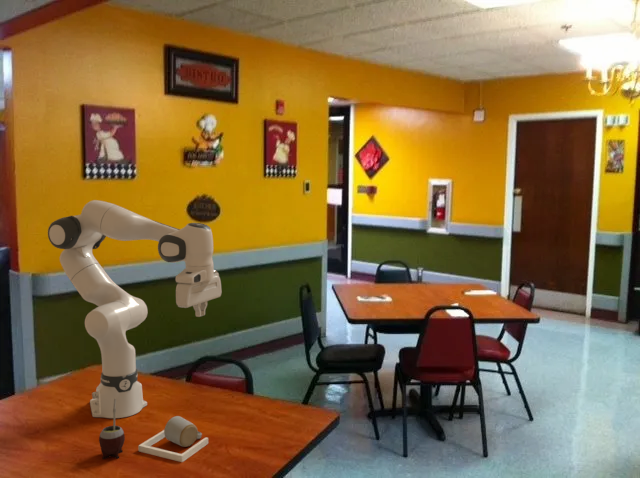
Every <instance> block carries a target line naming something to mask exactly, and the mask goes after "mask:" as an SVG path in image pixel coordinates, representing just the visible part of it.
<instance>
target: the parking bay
mask: <svg viewBox="0 0 640 478" xmlns="http://www.w3.org/2000/svg"><path fill="white" fill-rule="evenodd" d="M164 430H165V429H163V430H162V431H160V432H158V433H157V434H155V435H153V436H152V437H150V438H148V439H147V440H145V441H144V442H142V443H140V444H139V445H138V448H137V449H138V452H141V453H144V454H148V455H152V456H157V457H160V458H163V459H168V460H172V461H176V462H179V463H180V462H181V463H184V462H185V461H186V460H187V459H189V458H190V457H192V456H193V455H194V454H196V453H197V452H199V451H200V450H201V449H203V448H205V446H207V445H208V444H209V437H204V438H203V439H200V440H199V441H198V442H196V443H195V444H194V445H191V447H190V448H188V449H186V450H185V451H183V452H182V453H178V452H174V451H172V450H171V451H170V450H167V449H163V448H159V447H154V446H153V445H155V444H156V443H158V442H159V441H161V440H163V439H164V438H166V437H165V434H164Z"/></svg>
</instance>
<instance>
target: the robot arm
mask: <svg viewBox="0 0 640 478" xmlns="http://www.w3.org/2000/svg"><path fill="white" fill-rule="evenodd" d="M47 237H48V240H49V242H50V244H51V245H52V246H53V247H54V248H57V249H60V250H62V251H61V253H60V256H59V263H60V264H61V268H62V269H63V271H64V273H65V274H66V276H67V278H68V280H70V282H71V283H72V285H73V287H74V288H75V289H76V291H77V292H78V293H79V295H80V296H81V298H82V299H83V300H84V301H86V302H88V303H91V304H93V305H96V306H97V307H95V308H94V309H92V310H91V311H89V312H88V313H87V315H86V316H85V319H84V327H85V330H86V333H88V335H89V336H90V337H92V338H94V340H95V341H96V342H97V344H98V347H99V349H100V354H101V355H100V356H101V366H102V367H101V368H102V371H101V374H100V383H99V384H98V386H97V387H96V388H95V389H96V390H95V391H94V392H92V393H91V398H92V399H90V400H89V405H90V406H89V407H90V411H91V415H92V417H93V418H105V419H113V408H114V399H116V406H115V409H116V412H115V419H120V418H121V419H122V418H127V417H131V416H133V415H136V414H138V413H139V412H140V411H142V409H143V408H145V407H147V406H148V402H147V401H146V400H144V398H143V397H144V396H143V395H144V394H143V385H142V383H141V382H140V381H138V375H139V374H138V369H137V364H136V363H137V362H136V348H135V346H134V345H133V344H131V343H129V342H128V339H127V335H126V332H127V331H128V330H132V329H134V328H137V327H139V325H141V323H143V322H144V321H146V318H147V317H148V314H149V313H148V306H147V304H146V302H145V301H144V300H143V299H141V298H139V297H136V296H134V295H131V294H130V293H128V292H127V291H125V290H124V289H123V288H122V287H120V286H119V285H118V284H117V283H115V282H114V280H112V279H111V277H110V276H109V275H108V273H107V272H106V271H105V269H104V268H103V266H101V264H100V263H99V261H98V260H97V259H96V257H95V256H94V254H93V250H96V249H98V248H99V247H100V246H101V243H102V242H103V241H104V240H105V239H106V237H108V238H110V239H113V240H117V241H124V242H126V241H127V242H128V241H138V240H139V241H140V240H150V241H156V242H158V244H157V251H158V255H159V256H160V258H161V259H162V260H163V261H164V262H165V263H174V264H175V263H179V262H185V264H184V265H185V268H184V269H182V270H181V272H179V273H178V274H177V275H175V283H177V284H176V287H175V303H176V306H177V307H178V308H184V309H187V308H191V307H193V310H194V311H195V314H194V315H195V317H197V318H200V317H203V316H205V315H206V309H207V307H208V302H209V301H211V300H214V299H218V298H221V296H222V293H223V292H222V281H221V277H220V274H219V272H218V271H217V269H216V270H215V269H214V265H215V264H214V260H213V254H214V237H213V232H212V228H211V227H210V226H208V225H207V224H204V223H201V222H190V223H187V224H186V225H185V226H184V227H182V228H177V227H174V226H171V225H168V224H164V223H162V222H159V221H157V220H152V219H150V218H149V217H147V216H146V217H145V216H143V215H141V214H138V213H136V212H134V211H131V210H129V209H127V208H125V207H123V206H120V205H117V204H115V203H111V202H107V201H104V200H97V199H93V200H90V201H89V202H87V203H86V204H84V206H83V208H82V210H81V214H78V215H69V216H65V217H61V218H59V219H56V220H54V221H53V222H51V223H50V225H49V226H48V229H47Z"/></svg>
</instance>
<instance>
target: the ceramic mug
mask: <svg viewBox="0 0 640 478" xmlns="http://www.w3.org/2000/svg"><path fill="white" fill-rule="evenodd" d="M163 430H164V434H165V437H164V438H165V439H166V440H167V441H170V442H172V443H173V444H175V445H178V446H180V447H184V448H186V447H190V446H193V444H194V443H195V441H196V440H201V438H202V436H203V433H202V432H200V431H198V427H197V426H196V425H195V424H194V423H192V422H191V421H189V420H188V419H185V418H184V417H182V416H180V415H176V416H173V417H170V419H169V420H168V421H167V422H166V424H165V427H164V429H163Z"/></svg>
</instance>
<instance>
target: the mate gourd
mask: <svg viewBox="0 0 640 478" xmlns="http://www.w3.org/2000/svg"><path fill="white" fill-rule="evenodd" d="M115 406H116V399H114V408H113V418H112V420H113V423H112V425H110V426H106V427H104V428H103V429H102V430H101V431H100V433H99V437H98V442H99V443H98V444H99V446H100V450H101V454H102V457H101V458H102V460H106V459H108V458H111V457H112V458H114V459H116V460H117V459H120V456H119V454H120V453H123V446H124V444H125V440H126V436H125V432H124V429H123V428H122V427H121V426H119V425H116V418H115V412H116V409H115Z"/></svg>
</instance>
